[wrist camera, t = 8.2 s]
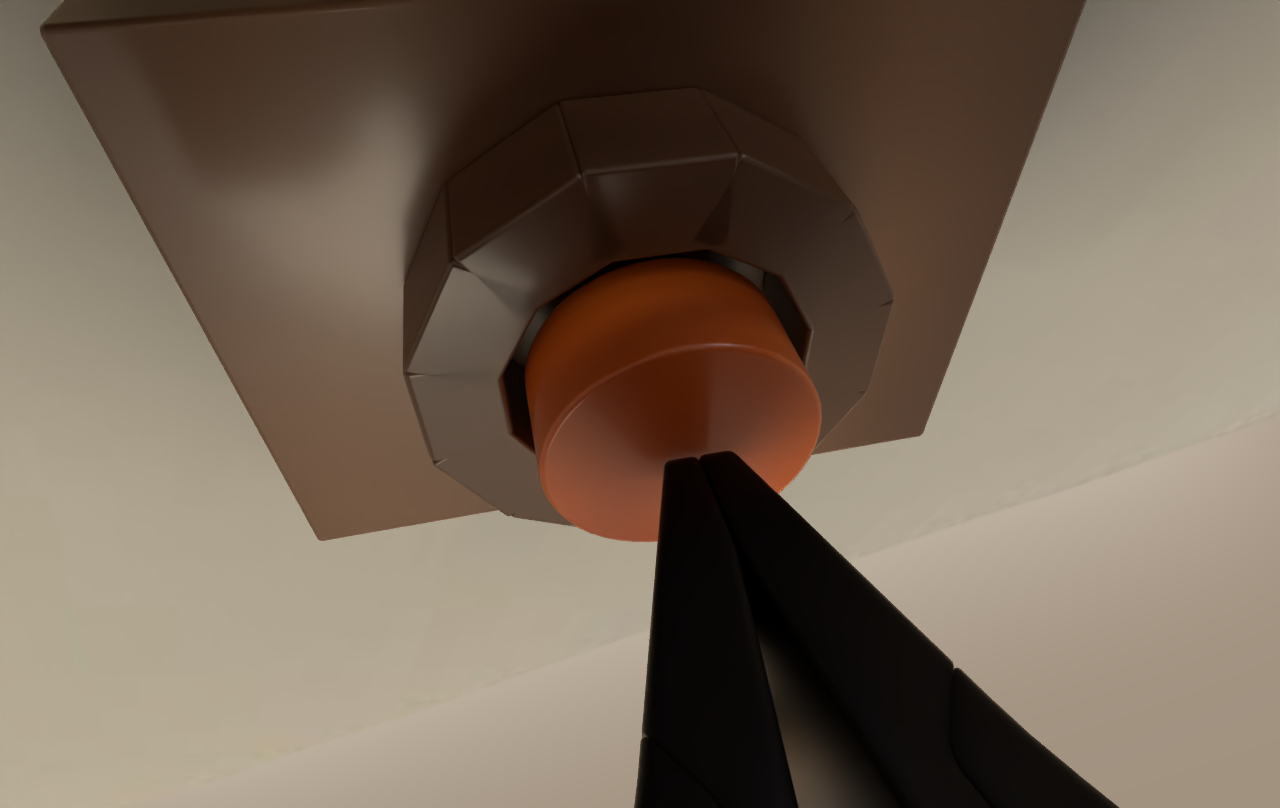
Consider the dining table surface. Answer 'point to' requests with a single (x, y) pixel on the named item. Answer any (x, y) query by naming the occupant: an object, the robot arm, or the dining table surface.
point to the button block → (551, 200)
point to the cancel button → (662, 390)
